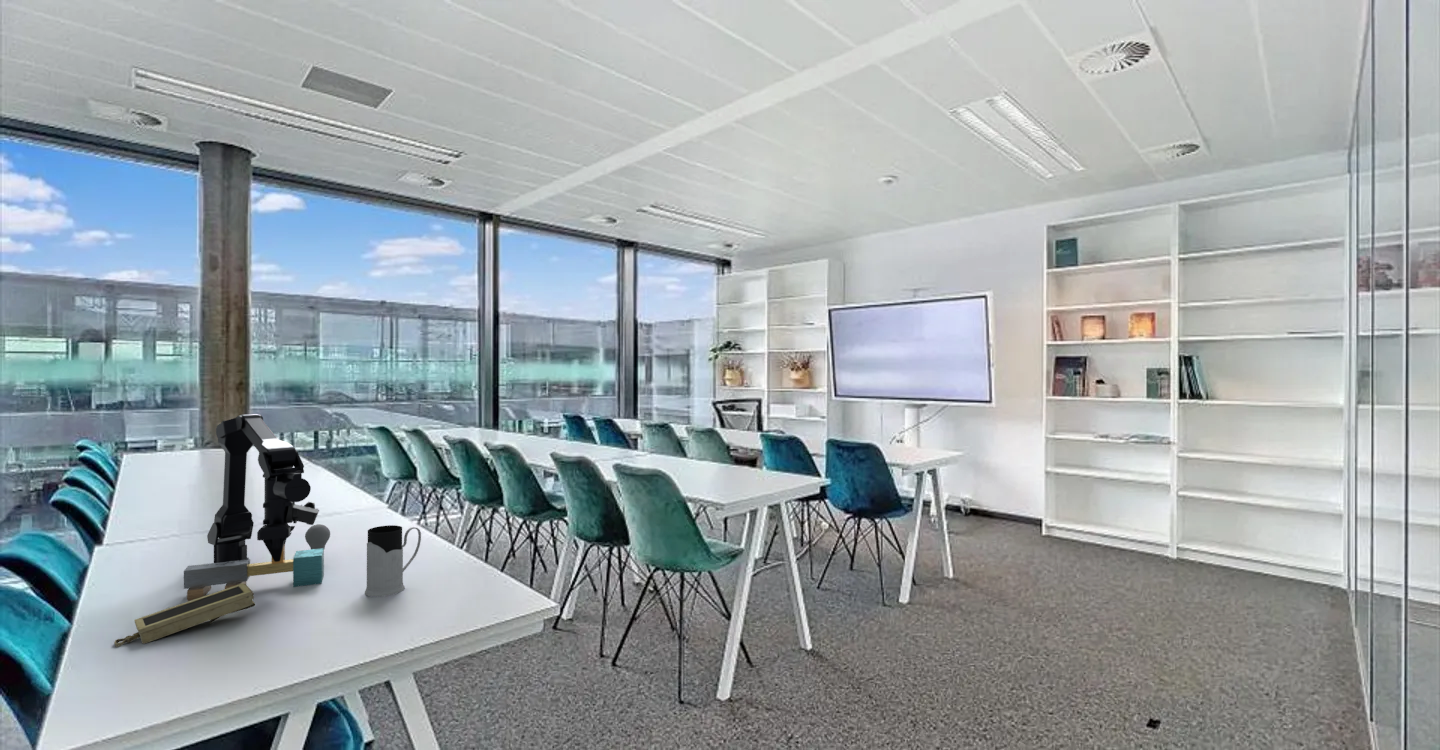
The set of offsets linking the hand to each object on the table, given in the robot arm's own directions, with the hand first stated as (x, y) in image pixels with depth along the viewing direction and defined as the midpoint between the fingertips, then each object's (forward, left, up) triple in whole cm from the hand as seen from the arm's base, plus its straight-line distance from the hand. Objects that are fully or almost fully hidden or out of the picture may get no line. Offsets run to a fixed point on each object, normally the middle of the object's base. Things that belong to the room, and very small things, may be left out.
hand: (278, 559), depth 161 cm
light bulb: (0, +20, -6) cm, 22 cm away
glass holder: (+29, -5, -6) cm, 30 cm away
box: (-4, -26, -7) cm, 27 cm away
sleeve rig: (-4, -2, -6) cm, 8 cm away
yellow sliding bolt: (-4, -1, -3) cm, 5 cm away
